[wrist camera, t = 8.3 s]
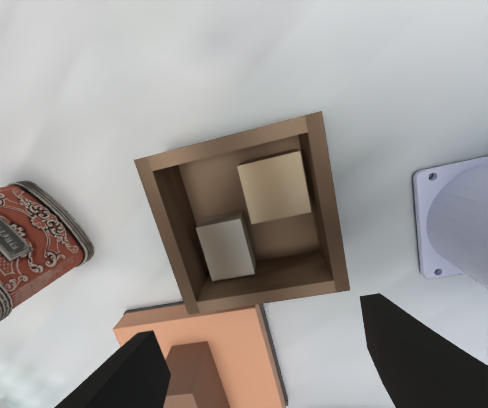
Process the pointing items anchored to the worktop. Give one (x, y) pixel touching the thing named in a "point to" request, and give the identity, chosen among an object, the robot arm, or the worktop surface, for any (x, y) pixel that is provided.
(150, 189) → the box
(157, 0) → the worktop surface
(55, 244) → the ornate red tin
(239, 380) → the lid
